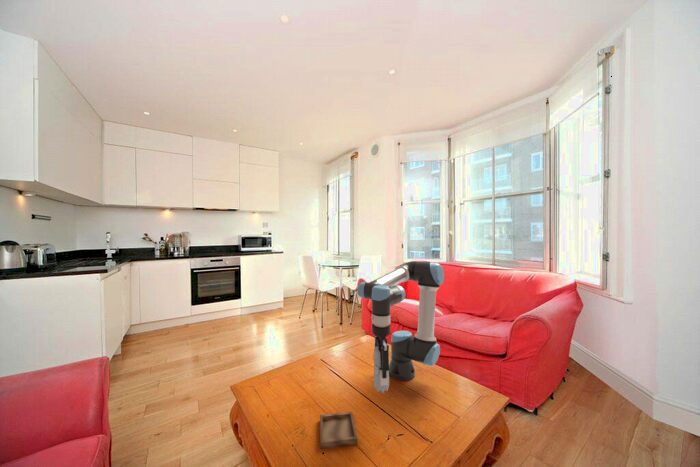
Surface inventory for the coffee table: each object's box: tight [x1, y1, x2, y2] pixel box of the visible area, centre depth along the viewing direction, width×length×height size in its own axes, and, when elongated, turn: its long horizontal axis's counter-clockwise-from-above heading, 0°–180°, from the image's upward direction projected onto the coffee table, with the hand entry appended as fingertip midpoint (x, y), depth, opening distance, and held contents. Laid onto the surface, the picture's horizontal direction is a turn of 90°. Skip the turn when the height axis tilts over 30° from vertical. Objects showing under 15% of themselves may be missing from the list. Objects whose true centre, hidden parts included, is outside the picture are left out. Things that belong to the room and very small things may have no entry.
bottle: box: [372, 344, 390, 394], centre depth 101 cm, size 7×7×20 cm
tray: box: [319, 411, 358, 450], centre depth 100 cm, size 14×14×2 cm
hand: (381, 379), depth 101 cm, fingers closed on bottle, 6 cm apart
